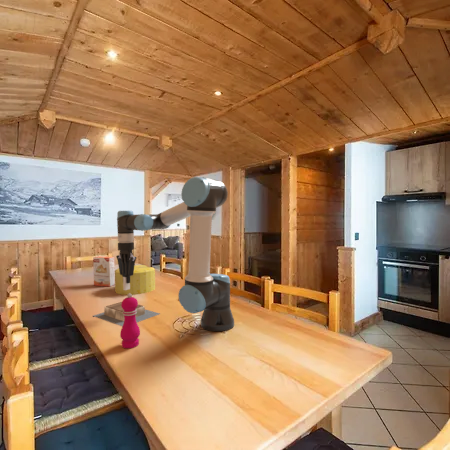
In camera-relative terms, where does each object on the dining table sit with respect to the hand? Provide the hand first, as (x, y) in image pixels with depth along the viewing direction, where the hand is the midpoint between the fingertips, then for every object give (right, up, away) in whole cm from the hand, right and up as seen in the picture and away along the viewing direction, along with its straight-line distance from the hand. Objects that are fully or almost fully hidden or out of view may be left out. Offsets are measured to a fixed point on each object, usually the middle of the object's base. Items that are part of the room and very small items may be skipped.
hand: (126, 289), depth 142 cm
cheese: (-12, -12, +53) cm, 56 cm away
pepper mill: (+12, -14, -32) cm, 37 cm away
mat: (0, -13, +1) cm, 13 cm away
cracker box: (-39, -12, +66) cm, 78 cm away
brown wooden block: (+5, -11, -3) cm, 12 cm away
